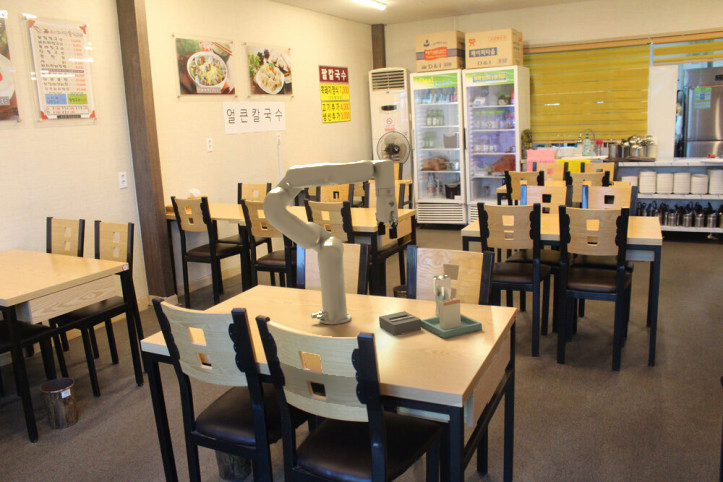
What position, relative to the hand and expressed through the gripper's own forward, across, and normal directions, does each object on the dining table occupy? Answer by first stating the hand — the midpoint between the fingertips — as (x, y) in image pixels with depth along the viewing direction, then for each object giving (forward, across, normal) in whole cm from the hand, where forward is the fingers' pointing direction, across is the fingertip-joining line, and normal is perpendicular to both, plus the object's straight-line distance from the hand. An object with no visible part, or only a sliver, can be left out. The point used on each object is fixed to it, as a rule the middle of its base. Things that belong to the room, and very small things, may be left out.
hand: (387, 236), depth 233 cm
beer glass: (+32, -9, -18) cm, 38 cm away
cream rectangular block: (+31, -25, -12) cm, 41 cm away
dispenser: (+32, -14, +4) cm, 35 cm away
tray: (+32, -25, -12) cm, 42 cm away
